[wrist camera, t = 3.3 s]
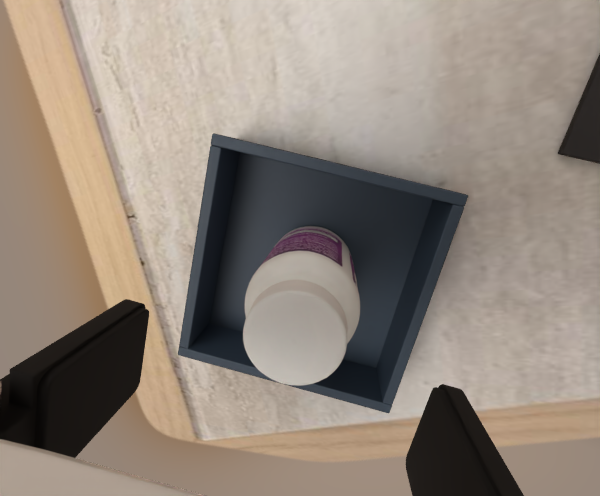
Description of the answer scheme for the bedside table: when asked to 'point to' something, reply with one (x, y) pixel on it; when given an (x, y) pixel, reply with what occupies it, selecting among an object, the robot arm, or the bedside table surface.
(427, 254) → the bin
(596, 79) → the mat
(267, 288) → the pill bottle
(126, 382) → the robot arm
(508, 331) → the bedside table surface
